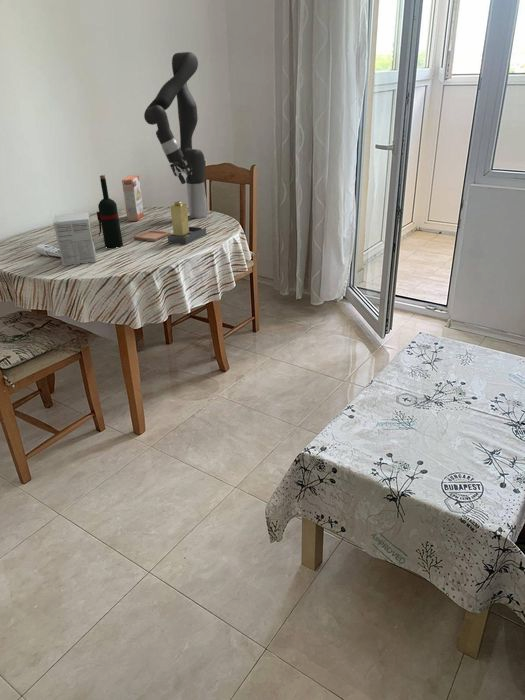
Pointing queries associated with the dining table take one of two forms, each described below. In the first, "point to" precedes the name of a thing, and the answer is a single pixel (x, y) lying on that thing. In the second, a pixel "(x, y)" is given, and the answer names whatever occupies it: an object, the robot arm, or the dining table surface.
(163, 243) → the dining table surface
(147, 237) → the terracotta dish
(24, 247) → the dining table surface
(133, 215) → the cracker box
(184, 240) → the grey tray with studs
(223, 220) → the dining table surface
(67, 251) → the supplement box
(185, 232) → the tan tall block
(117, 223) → the wine bottle
